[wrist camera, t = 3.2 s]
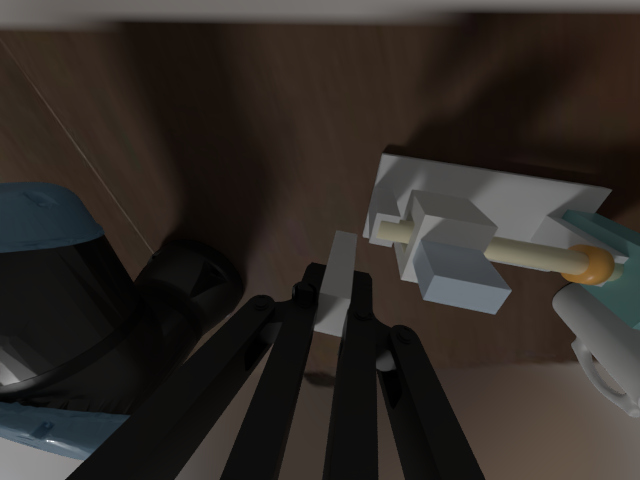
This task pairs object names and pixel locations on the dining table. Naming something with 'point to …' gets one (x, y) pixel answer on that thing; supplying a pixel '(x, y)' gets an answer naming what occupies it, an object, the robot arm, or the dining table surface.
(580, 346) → the mug
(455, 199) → the grey stepped block
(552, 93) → the dining table surface
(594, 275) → the grey vise fixture
